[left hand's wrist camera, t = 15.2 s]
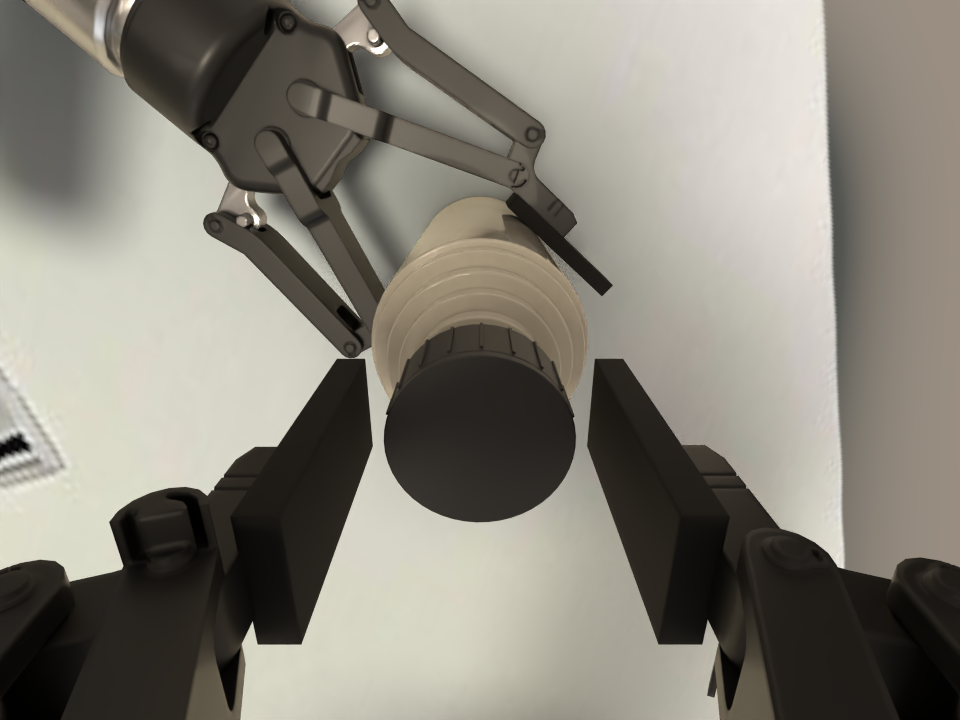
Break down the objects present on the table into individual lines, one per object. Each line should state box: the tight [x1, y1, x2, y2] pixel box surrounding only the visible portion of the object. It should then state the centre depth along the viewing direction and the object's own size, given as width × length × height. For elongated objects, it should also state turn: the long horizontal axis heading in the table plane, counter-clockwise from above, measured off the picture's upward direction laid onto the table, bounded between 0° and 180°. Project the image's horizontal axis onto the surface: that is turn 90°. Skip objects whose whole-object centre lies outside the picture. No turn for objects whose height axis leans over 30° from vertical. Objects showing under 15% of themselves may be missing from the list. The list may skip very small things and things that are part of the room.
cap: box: [384, 323, 576, 522], centre depth 14 cm, size 5×5×2 cm
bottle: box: [372, 197, 588, 400], centre depth 23 cm, size 8×8×22 cm
